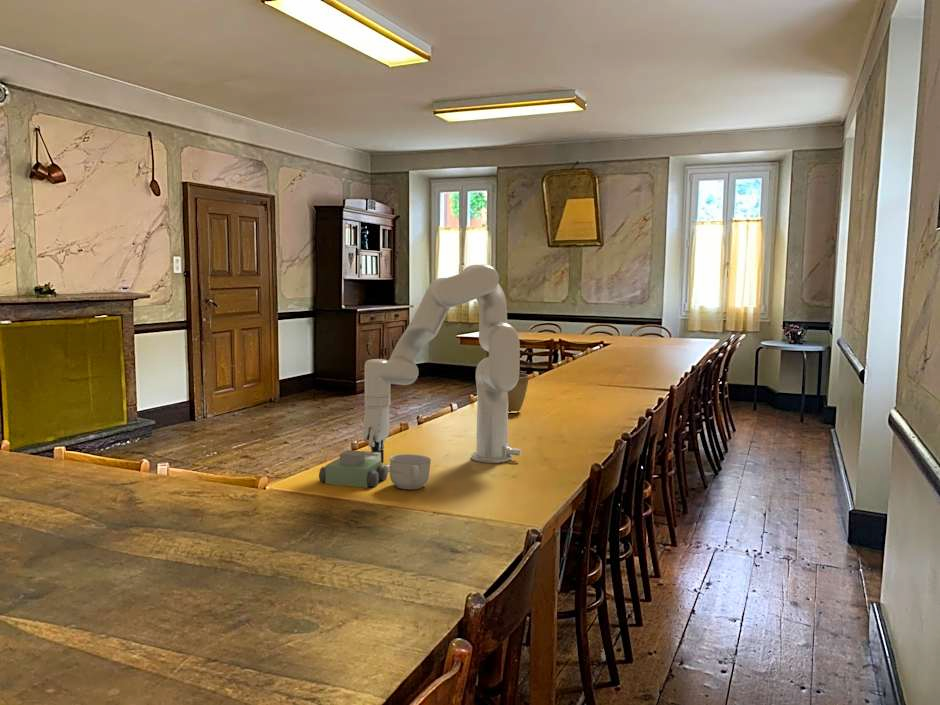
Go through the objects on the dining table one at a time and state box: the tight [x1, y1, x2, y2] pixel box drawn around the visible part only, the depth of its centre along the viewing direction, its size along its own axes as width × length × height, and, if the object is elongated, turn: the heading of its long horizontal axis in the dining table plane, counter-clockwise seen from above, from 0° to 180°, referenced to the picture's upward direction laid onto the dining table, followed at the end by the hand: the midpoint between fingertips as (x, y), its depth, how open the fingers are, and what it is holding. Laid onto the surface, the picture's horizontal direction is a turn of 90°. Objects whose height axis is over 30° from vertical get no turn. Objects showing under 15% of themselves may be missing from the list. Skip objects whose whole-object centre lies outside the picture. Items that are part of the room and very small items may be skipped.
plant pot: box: [507, 372, 530, 412], centre depth 302 cm, size 15×15×16 cm
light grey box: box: [364, 450, 381, 460], centre depth 204 cm, size 6×7×6 cm
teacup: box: [389, 453, 432, 490], centre depth 189 cm, size 14×11×8 cm
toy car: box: [318, 449, 390, 489], centre depth 200 cm, size 16×19×8 cm
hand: (377, 463), depth 212 cm, fingers closed
